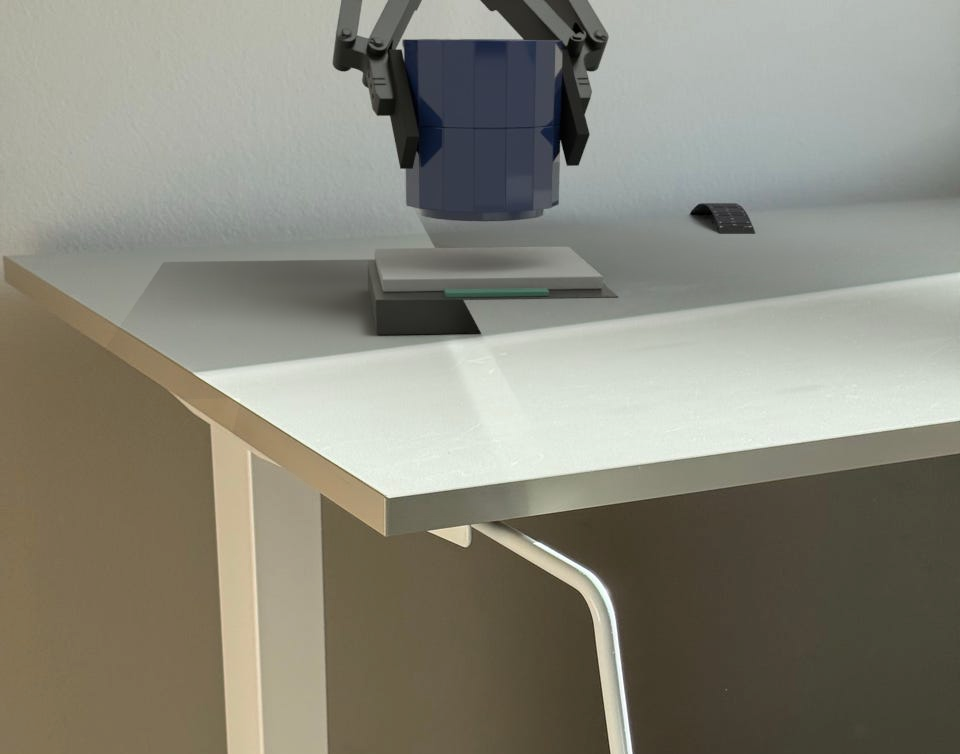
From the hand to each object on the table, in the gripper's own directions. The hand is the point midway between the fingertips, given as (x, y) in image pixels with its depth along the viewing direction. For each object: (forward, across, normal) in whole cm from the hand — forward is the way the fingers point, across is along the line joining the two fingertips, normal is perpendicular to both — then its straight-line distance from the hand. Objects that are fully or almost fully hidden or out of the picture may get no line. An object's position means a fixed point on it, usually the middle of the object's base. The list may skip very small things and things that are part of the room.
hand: (495, 151), depth 87 cm
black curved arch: (-11, -26, -25) cm, 37 cm away
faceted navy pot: (+1, 0, -5) cm, 5 cm away
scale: (+5, 0, -8) cm, 10 cm away
